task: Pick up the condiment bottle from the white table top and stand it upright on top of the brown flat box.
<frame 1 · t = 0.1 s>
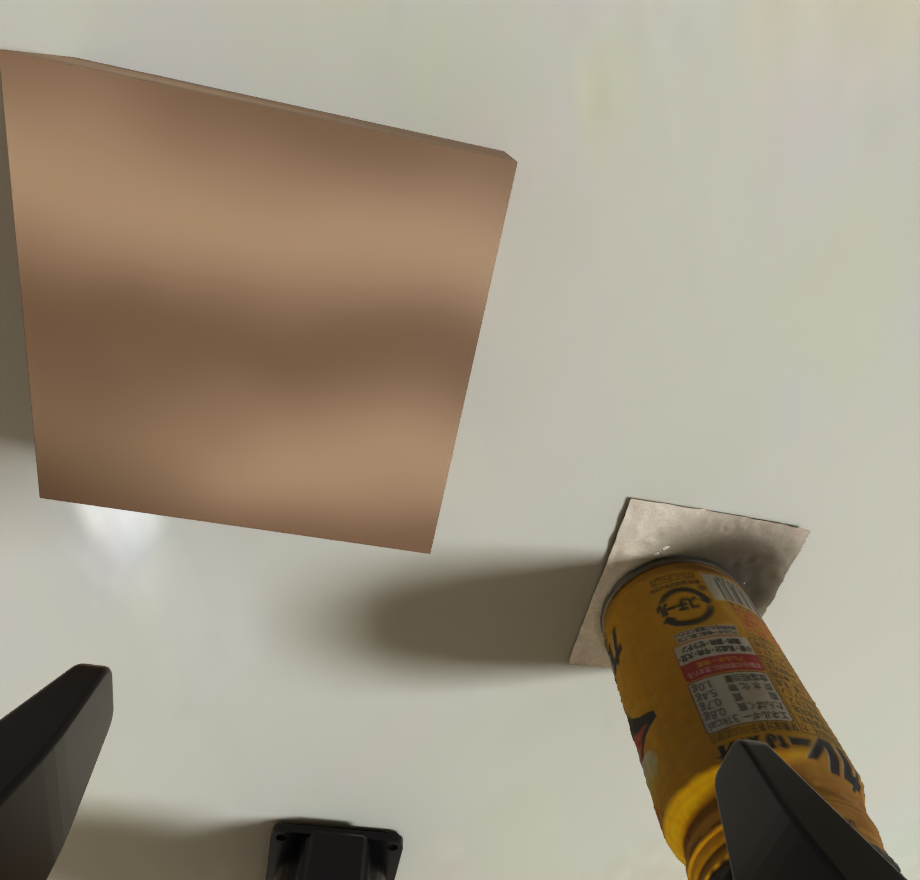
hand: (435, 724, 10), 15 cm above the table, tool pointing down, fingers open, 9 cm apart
brown flat box: (283, 306, 22), on the table
condiment: (679, 592, 28), on the table
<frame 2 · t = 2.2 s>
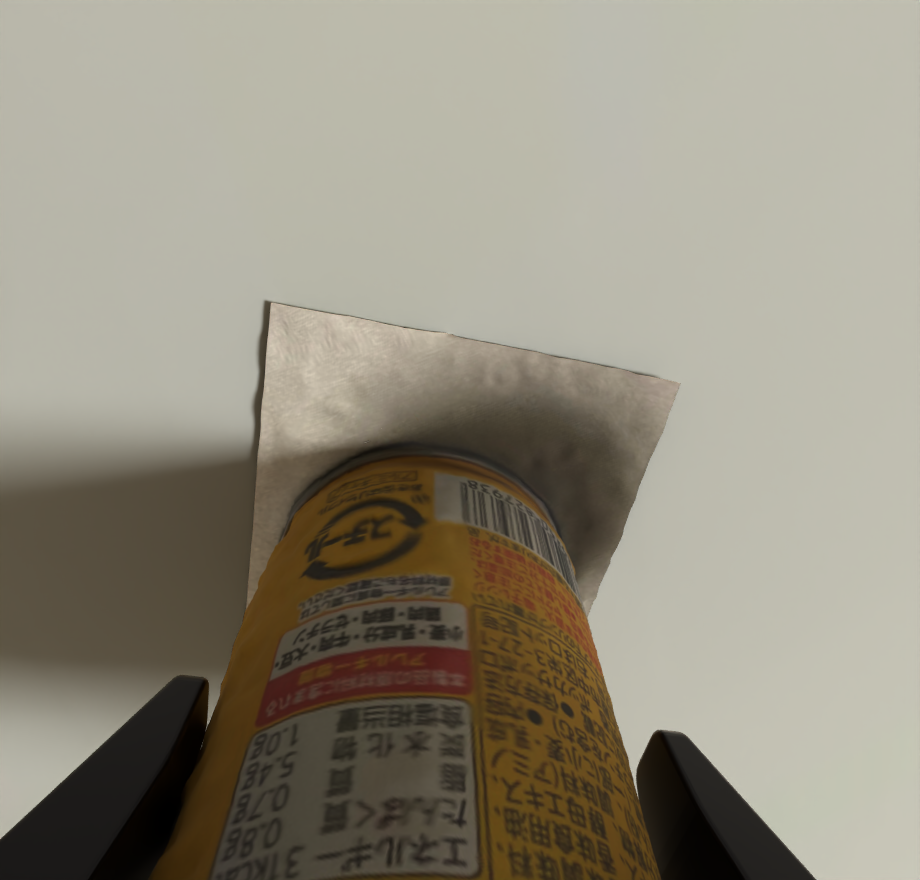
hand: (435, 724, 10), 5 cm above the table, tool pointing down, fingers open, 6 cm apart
condiment: (436, 528, 14), on the table, touching gripper
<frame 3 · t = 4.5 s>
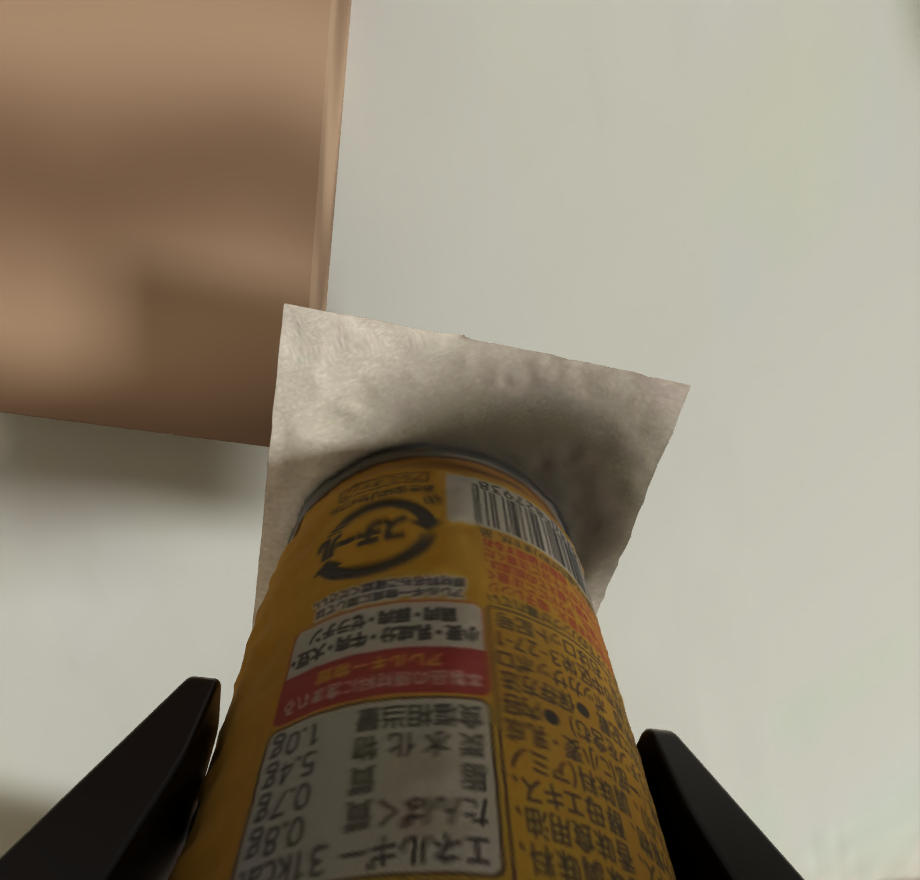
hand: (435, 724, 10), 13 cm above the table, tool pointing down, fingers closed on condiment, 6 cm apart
brown flat box: (117, 162, 18), on the table
condiment: (445, 528, 14), point 8 cm above the table, touching gripper
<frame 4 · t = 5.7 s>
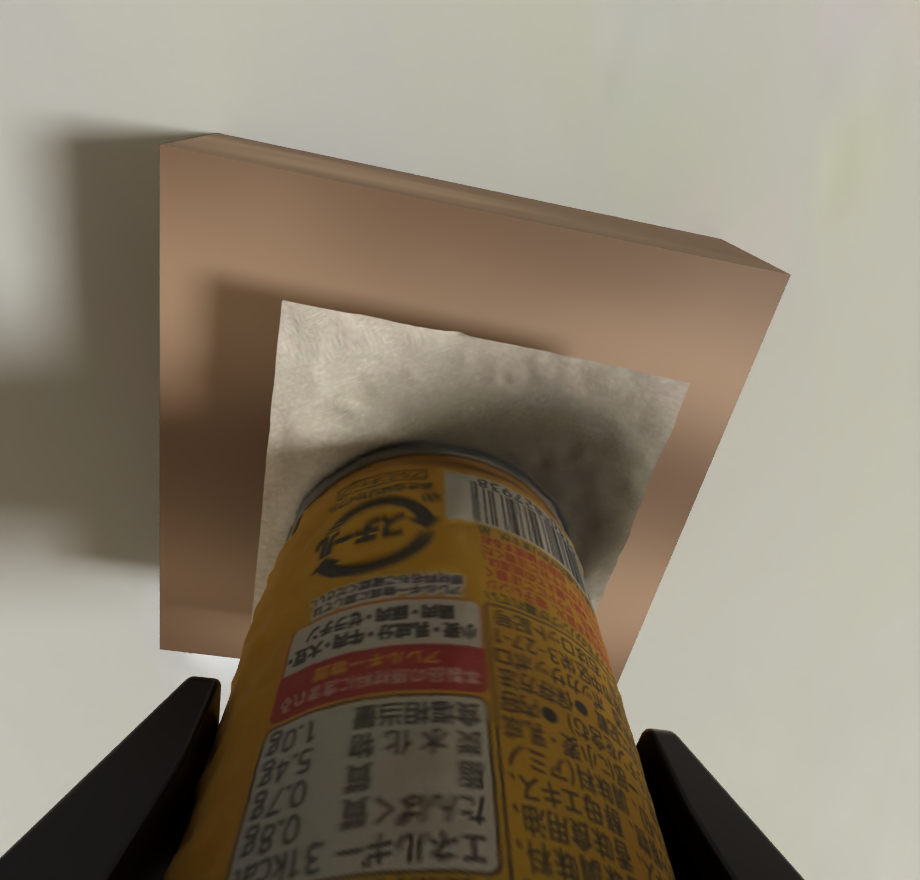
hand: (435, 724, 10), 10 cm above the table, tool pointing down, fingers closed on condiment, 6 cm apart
brown flat box: (434, 410, 19), on the table
condiment: (443, 526, 14), point 5 cm above the table, touching gripper
when the fingers open (9 cm above the table, at t = 6.6 s): condiment drops 1 cm, resting on brown flat box.
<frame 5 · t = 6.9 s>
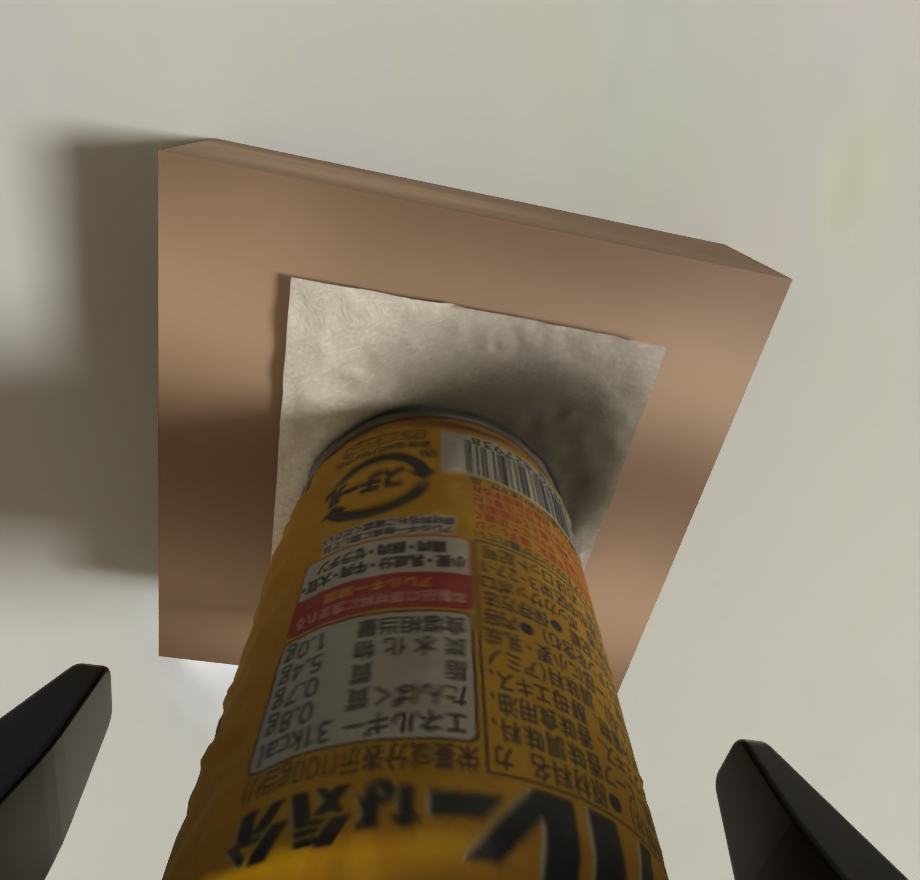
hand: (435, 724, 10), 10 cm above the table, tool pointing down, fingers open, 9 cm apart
brown flat box: (434, 415, 19), on the table, touching condiment
condiment: (444, 486, 15), point 3 cm above the table, touching brown flat box
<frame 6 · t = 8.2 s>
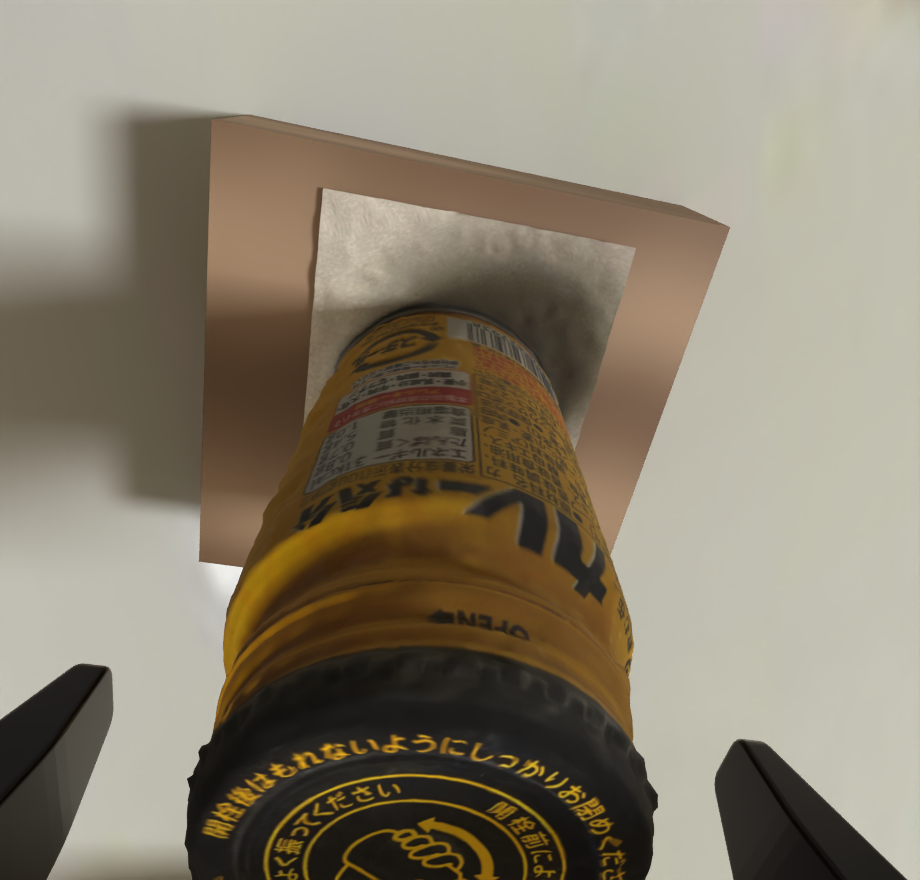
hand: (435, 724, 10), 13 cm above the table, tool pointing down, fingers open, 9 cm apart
brown flat box: (435, 359, 21), on the table, touching condiment
condiment: (450, 380, 18), point 3 cm above the table, touching brown flat box
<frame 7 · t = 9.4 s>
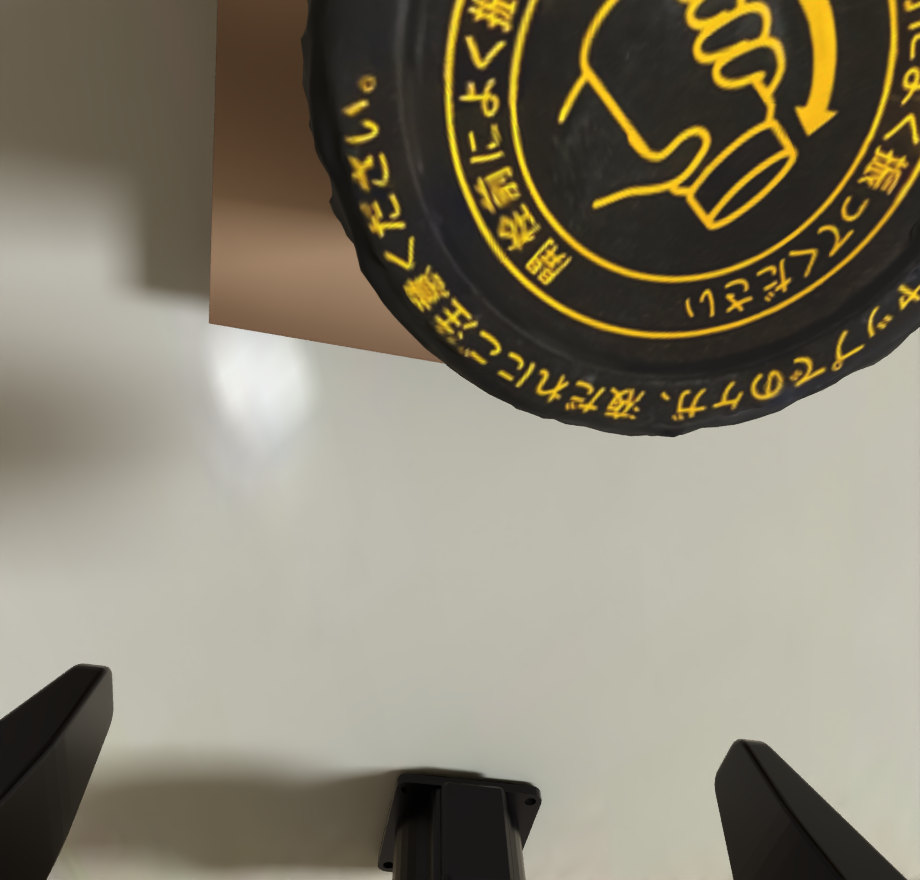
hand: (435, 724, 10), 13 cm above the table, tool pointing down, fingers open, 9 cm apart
brown flat box: (481, 109, 18), on the table, touching condiment
condiment: (529, 46, 15), point 3 cm above the table, touching brown flat box
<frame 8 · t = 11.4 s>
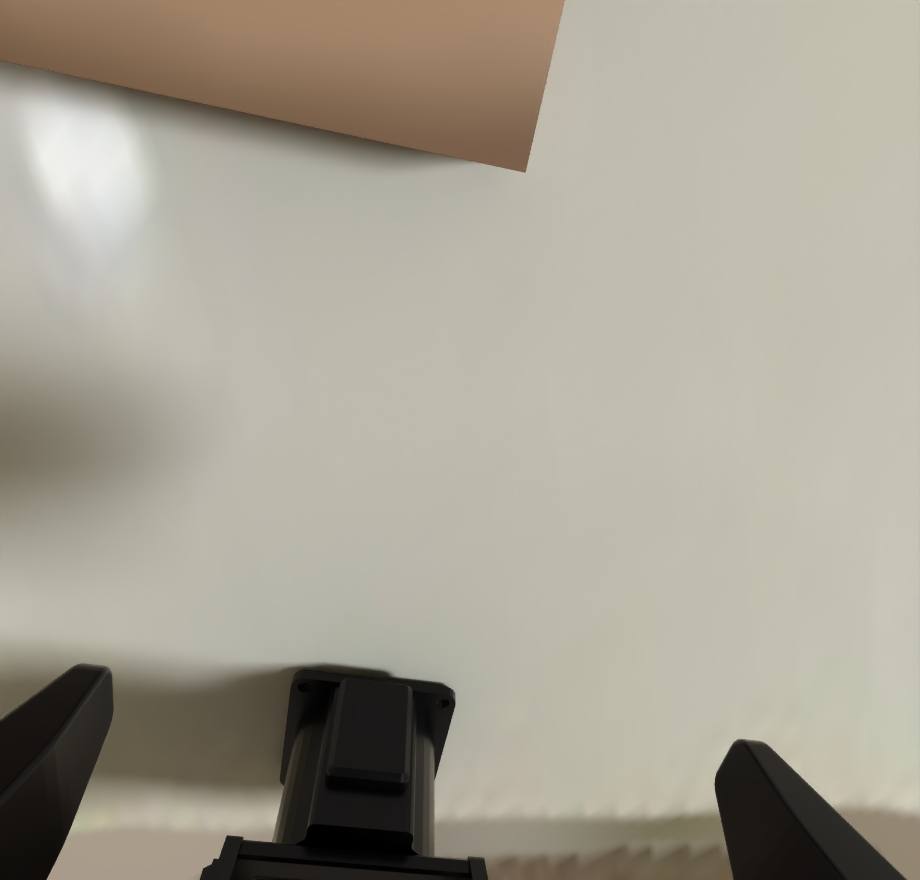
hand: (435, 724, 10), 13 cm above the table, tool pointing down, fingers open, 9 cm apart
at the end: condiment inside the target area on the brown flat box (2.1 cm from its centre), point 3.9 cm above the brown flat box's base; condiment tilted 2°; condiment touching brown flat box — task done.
